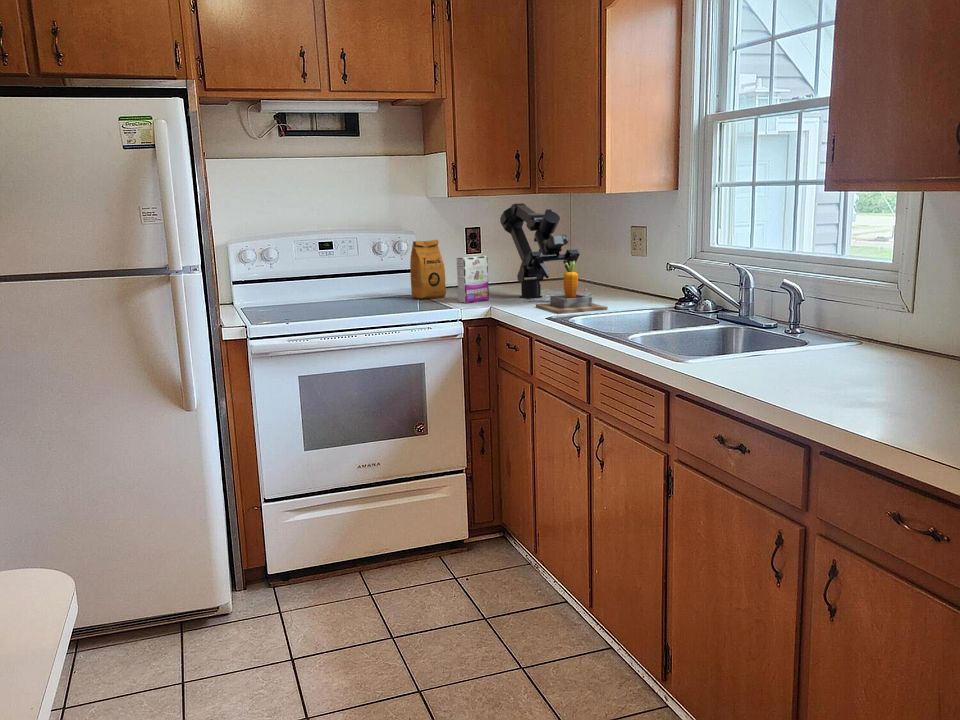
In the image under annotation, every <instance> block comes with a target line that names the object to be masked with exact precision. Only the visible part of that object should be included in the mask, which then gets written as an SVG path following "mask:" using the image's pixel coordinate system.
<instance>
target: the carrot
mask: <svg viewBox="0 0 960 720" xmlns="http://www.w3.org/2000/svg"><path fill="white" fill-rule="evenodd" d="M565 265H566V266H567V268H568V271H569V272H568V271H566V272H565V273H563V289H564V295H565V296H566V299H570V298H575V297H576V294H578V293H577V292H578V286H579V274H578V273H577V272H575V271H574V270H575V265H576V263H575V261H573V263H572V265H571V267H570V266H569V265H568V263H565V264H564V266H565Z"/></svg>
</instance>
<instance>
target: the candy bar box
mask: <svg viewBox="0 0 960 720" xmlns="http://www.w3.org/2000/svg"><path fill="white" fill-rule="evenodd" d="M455 259H456V275H457V278H456V279H457V296H458V297H457V299H458V303H460V304H471V303H479V302H484V301H485V302H486V301H489V300H490V293H489V291H490V290H489V286H490V285H489V266H488V256H487V255H472V256H464V257H463V256H462V257H456V258H455Z"/></svg>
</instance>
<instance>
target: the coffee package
mask: <svg viewBox="0 0 960 720" xmlns="http://www.w3.org/2000/svg"><path fill="white" fill-rule="evenodd" d="M411 246H412V247H411V252H410V262H409V263H410V267H409V268H410V288H411V298H413V299H420V300H427V299H428V300H430V299H439V298H440V299H441V298H445V297H446V296H447V295H446V294H447V288H446V287H447V286H446V285H447V284H446V271H445V270H446V269H445V264H444V260H443V257H442V254H441V251H440V248H439V239H433V240H413V242H412V245H411Z"/></svg>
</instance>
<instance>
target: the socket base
mask: <svg viewBox="0 0 960 720" xmlns="http://www.w3.org/2000/svg"><path fill="white" fill-rule="evenodd" d="M549 299H550V300H549V301H550V302H548V303H547V302H546V303H536V304H535V308H537V309H541V310H544V311H548V312H551V313H554V314H558V315H562V314H574V313H585V312H586V313H587V312H596V311H597V312H598V311H607V310H608V306H606V305H601V304H598V303H595V302H593V297H592V296H588V295H583V294H580V293H576V297H575V298H570V299H566V296H565V294H560V295H550V296H549Z"/></svg>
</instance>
